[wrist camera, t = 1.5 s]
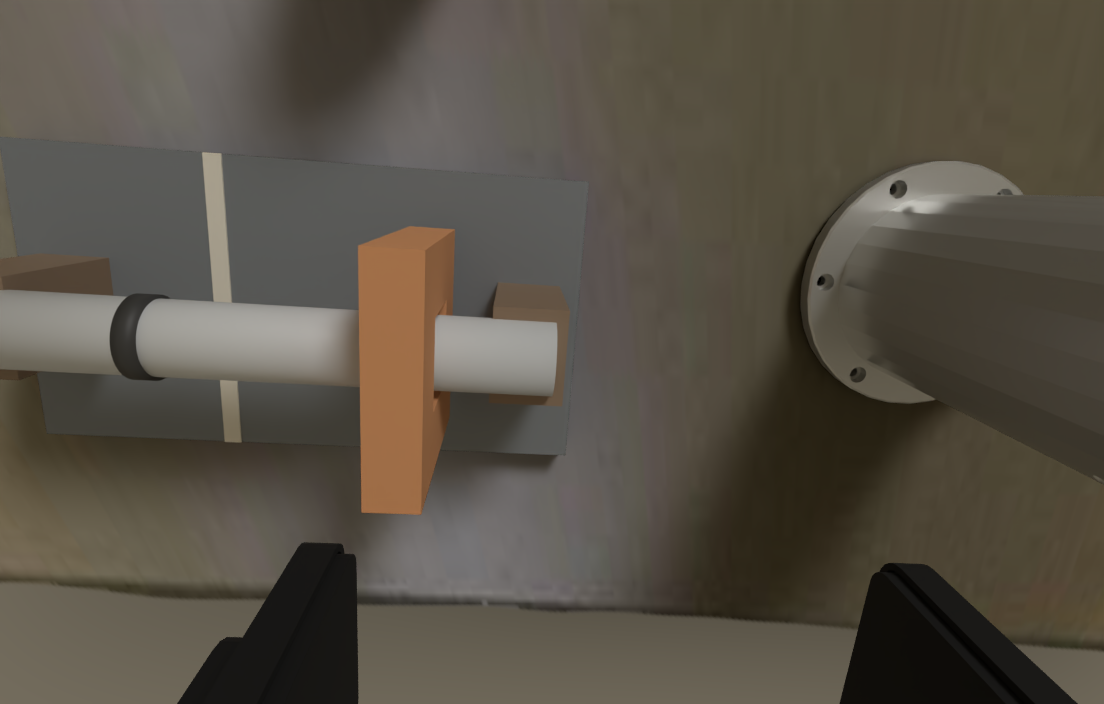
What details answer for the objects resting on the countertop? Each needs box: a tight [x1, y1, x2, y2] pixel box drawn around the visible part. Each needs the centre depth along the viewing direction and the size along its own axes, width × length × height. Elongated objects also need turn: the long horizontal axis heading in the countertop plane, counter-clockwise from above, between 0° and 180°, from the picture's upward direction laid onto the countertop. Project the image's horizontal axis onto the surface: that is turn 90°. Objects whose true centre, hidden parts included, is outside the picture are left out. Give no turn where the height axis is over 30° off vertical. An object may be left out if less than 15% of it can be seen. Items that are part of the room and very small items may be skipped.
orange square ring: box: [358, 226, 455, 515], centre depth 23 cm, size 2×9×9 cm, turn 176°
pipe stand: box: [0, 137, 589, 455], centre depth 26 cm, size 26×14×9 cm, turn 86°
